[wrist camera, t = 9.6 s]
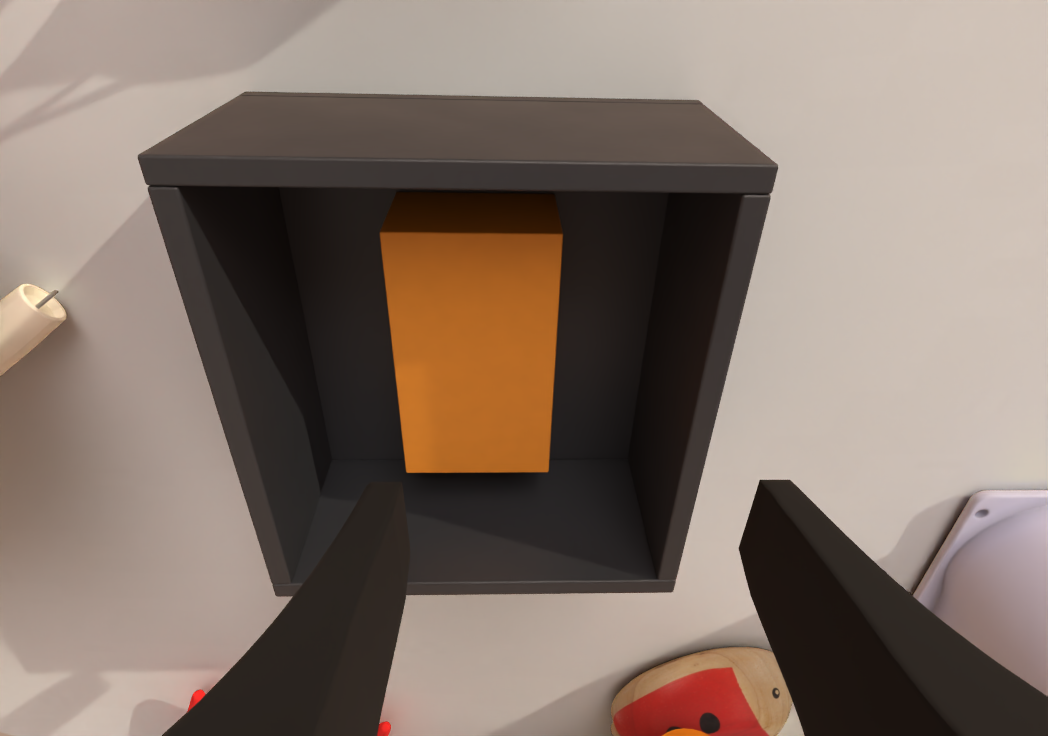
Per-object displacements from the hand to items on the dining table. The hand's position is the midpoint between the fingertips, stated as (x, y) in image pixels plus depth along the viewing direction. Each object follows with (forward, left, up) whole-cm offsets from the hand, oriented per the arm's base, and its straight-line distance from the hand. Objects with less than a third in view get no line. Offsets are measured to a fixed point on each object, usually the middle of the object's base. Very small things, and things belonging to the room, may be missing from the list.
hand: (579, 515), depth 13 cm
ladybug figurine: (-22, -9, -9) cm, 26 cm away
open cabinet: (0, +2, -9) cm, 10 cm away
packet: (0, +2, -9) cm, 9 cm away
